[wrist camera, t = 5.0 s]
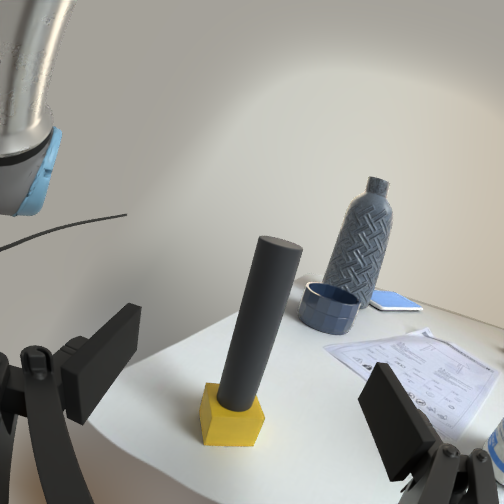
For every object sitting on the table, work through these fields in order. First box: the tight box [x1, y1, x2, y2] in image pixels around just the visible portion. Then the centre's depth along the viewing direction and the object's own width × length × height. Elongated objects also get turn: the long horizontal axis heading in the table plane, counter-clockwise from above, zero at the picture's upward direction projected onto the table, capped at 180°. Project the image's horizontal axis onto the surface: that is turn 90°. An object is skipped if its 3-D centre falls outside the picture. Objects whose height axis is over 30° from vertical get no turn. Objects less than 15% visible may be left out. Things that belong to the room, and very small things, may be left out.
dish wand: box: [199, 236, 303, 446], centre depth 20 cm, size 4×4×16 cm
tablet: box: [369, 290, 423, 310], centre depth 74 cm, size 19×13×1 cm, turn 113°
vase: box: [322, 177, 393, 309], centre depth 65 cm, size 12×12×28 cm
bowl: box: [298, 282, 362, 335], centre depth 51 cm, size 10×10×6 cm
